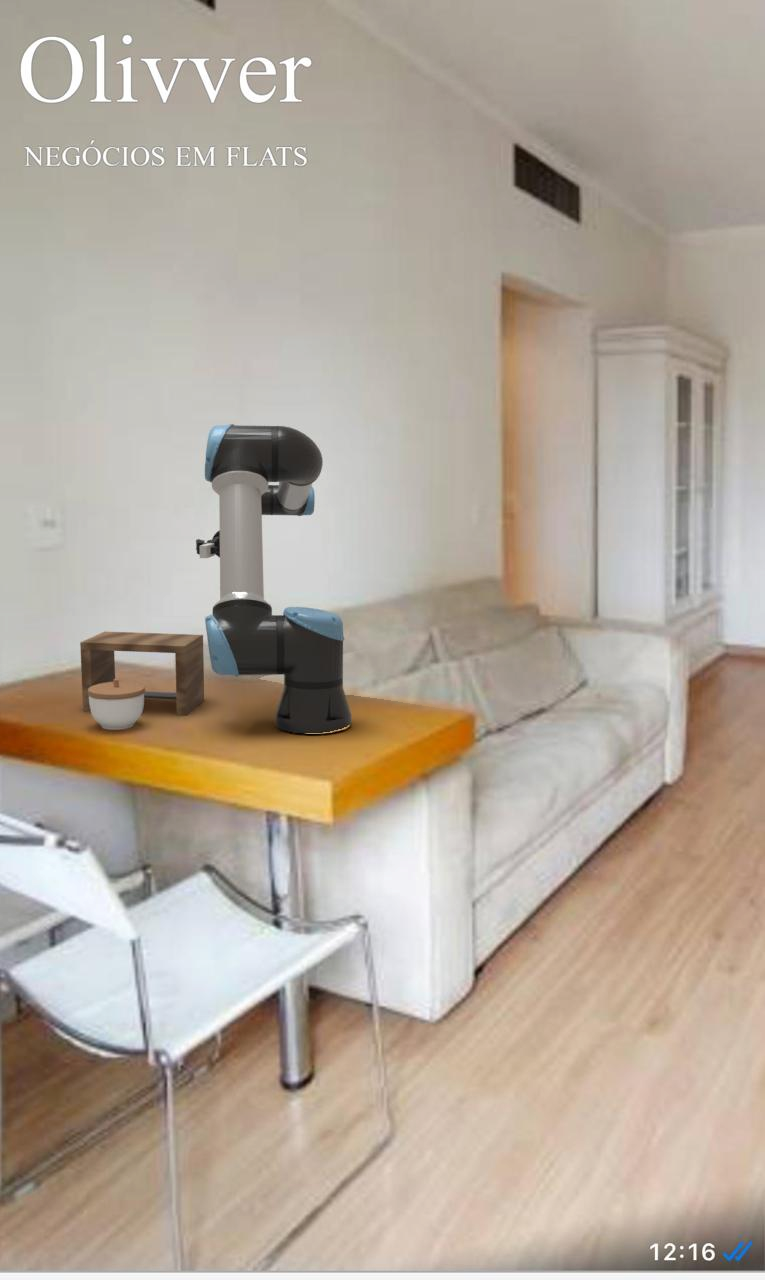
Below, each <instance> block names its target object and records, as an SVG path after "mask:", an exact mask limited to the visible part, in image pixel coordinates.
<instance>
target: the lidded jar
mask: <svg viewBox="0 0 765 1280" xmlns="http://www.w3.org/2000/svg"><path fill="white" fill-rule="evenodd" d="M113 681H114V682H107V683H101V684H97V685H93V686H91V687H90V688H89V689H88V695H89V705H90V710H91V711H90V712H91V715H92V717H93V719H94V721H96V722H97V723H98V724H99V725H100V726H101V728H102V729H103V730H109V731H119V730H122V731H123V730H127V729H130V728H132V727H134V726H135V724H136V722H137V721H139V719H140V717H141V716H142V714H143V710H144V705H145V698H144V692H145V691H146V690H145V689H146V687H145V686H144V684H142V683H139V682H135V681H120V679H119V678H115V679H114V680H113Z"/></svg>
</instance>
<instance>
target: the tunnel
mask: <svg viewBox="0 0 765 1280" xmlns="http://www.w3.org/2000/svg"><path fill="white" fill-rule="evenodd" d="M79 646H80V665H81V666H80V668H81V669H80V670H81V671H80V672H81V691H82V693H81V694H82V711H83V712H91V710H90V705H89V695H88V689H89V688H90V687H91V686H93V685H97V684H101V683H107V682H114V681H113V680H114V679H116V665H115V664H116V663H115V662H116V661H115V652H131V653H132V652H137V653H139V652H140V653H160V654H161V653H163V654H164V653H165V654H175V655H174V656H175V693H176V699H175V701H176V715H177V716H188V715H189V714H190V713H191V712H192V711H194V710H195V709H196V708H197V707H198V706H199V705H201V704H202V703H203V702H204V701H205V667H204V666H205V665H204V661H205V659H204V634H189V633H188V634H185V633H157V632H155V633H154V632H153V633H151V632H131V631H129V632H127V631H125V632H124V631H103V632H100V633H98V634H96V635H94V636H92V637H89V638H88V639H85V640H83V641H80V644H79Z"/></svg>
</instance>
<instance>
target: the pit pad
mask: <svg viewBox="0 0 765 1280" xmlns="http://www.w3.org/2000/svg"><path fill="white" fill-rule="evenodd" d="M144 697H148V698H147V699H166V700H169V699H170V700H171V699H172V700H176V692H166V691H165V692H164V691H148V690H147V691H146V690H145V692H144Z"/></svg>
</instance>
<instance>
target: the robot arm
mask: <svg viewBox="0 0 765 1280" xmlns="http://www.w3.org/2000/svg"><path fill="white" fill-rule="evenodd" d="M205 450H206V451H205V461H204V462H205V463H204V479H205V481H207V482H209V483H211V488H212V490H213V492H215V493H216V494H217V495H218V496H219V497H218V499H219V504H218V505H219V506H218V507H219V509H218V510H219V529H218V531H217V532H215V533H214V535H213V537H212V538H211V539H208V540H207V541H206V542H205V540H204V539H199V538H197V539H196V540H195V551H196V555H199V559H209V558H211V557H214V556H216V557H218V558H219V600H218V601H217V602H216V603H215V604H213V606H212V614H209V615H207V616H205V618H204V622H205V629H206V636H207V645H208V652H209V657H210V658H209V659H210V666H211V669H212V671H213V672H214V673H215V674H217V675H219V676H234V677H239V676H275V675H276V676H277V675H278V676H279V675H283V677H284V678H283V679H284V681H283V683H284V684H283V685H284V687H283V691H282V692H281V693H282V694H281V696H280V700H279V702H278V705H277V709H276V711H275V717H274V719H275V722H274V723H275V727H276V728H277V729H278V730H281V731H282V730H283V731H282V732H285V731H288V732H287V733H289V732H294V733H293V734H295V733H323V732H330V731H334V730H338V729H342V728H344V727H347V726H348V725H350V724H351V725H352V712H351V709H350V706H349V703H348V698H347V696H346V693H345V689H344V641H345V636H344V624H343V623H344V622H343V620H342V617H341V616H340V615H339V614H336V613H334V612H332V611H328V610H324V609H319V608H312V607H305V606H304V607H303V606H288V607H285V608H284V610H283V612H282V614H280V615H277V614H275V615H274V614H273V609H272V608H273V607H272V605H271V603H268V601H266V600H265V589H264V588H265V587H264V585H265V584H264V556H263V555H264V552H263V551H264V550H263V548H264V547H263V546H264V545H263V520H262V519H263V516H297V517H302V516H311V515H313V514H314V512H315V503H316V502H315V490H314V487H313V486H312V485H313V483H314V482H316V481H317V480H318V478H319V477H320V475H321V473H322V468H323V462H324V461H323V455H322V451H321V450H320V448H319V447H318V445H317V444H316V442H315V441H314V440H313V439H312V438H310V436H308V435H307V434H306V433H304V432H302V431H299V430H298V429H295V428H294V427H293V428H292V427H290V426H286V425H285V426H284V425H237V424H236V425H235V424H234V423H231V424H230V423H229V424H225V425H223V424H221V425H215V426H213V427H211V429H210V430H209V433H208V437H207V442H206V449H205ZM269 483H278V484H272V485H271V484H269Z"/></svg>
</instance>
